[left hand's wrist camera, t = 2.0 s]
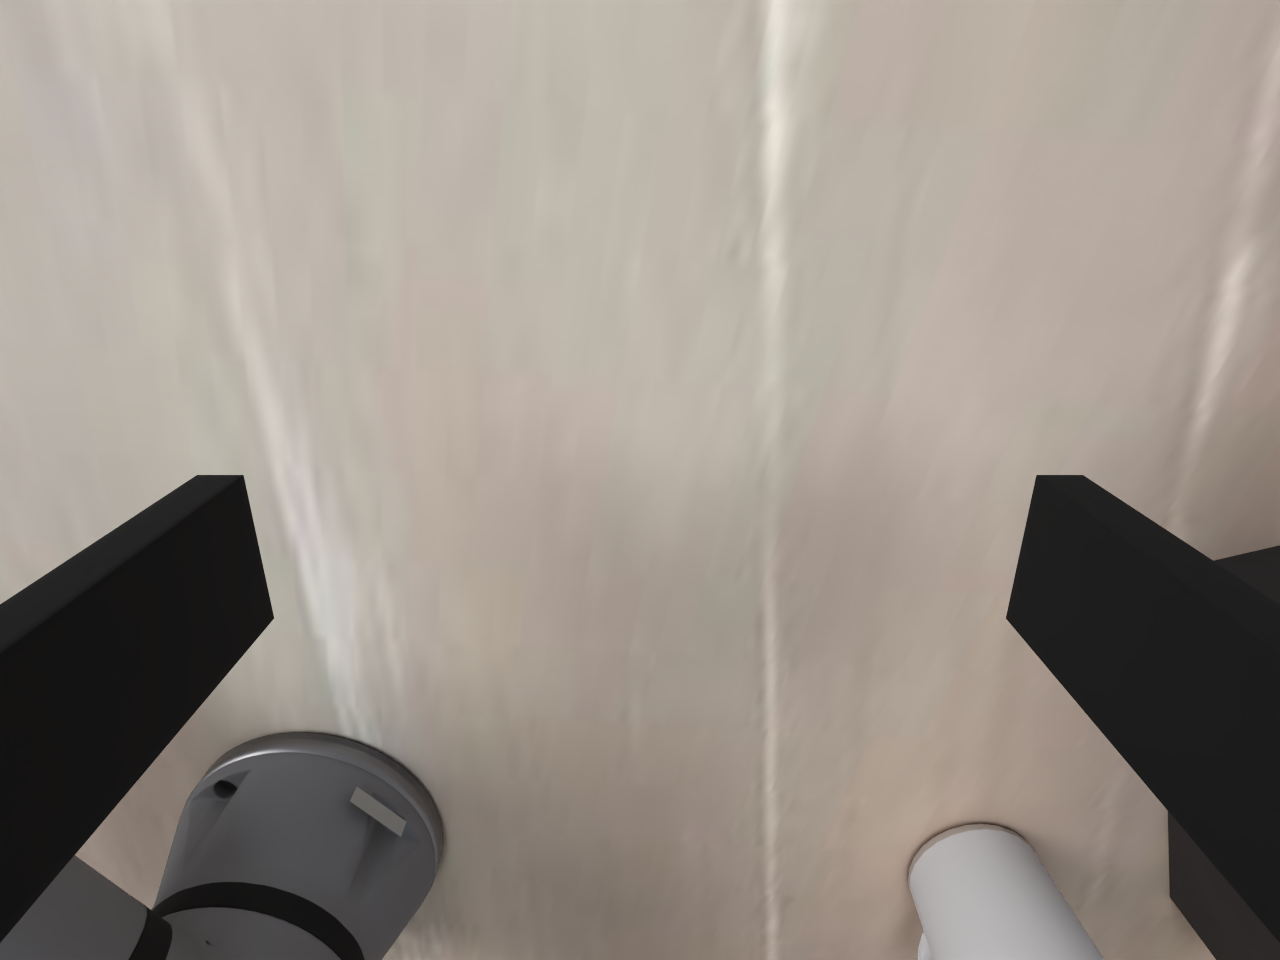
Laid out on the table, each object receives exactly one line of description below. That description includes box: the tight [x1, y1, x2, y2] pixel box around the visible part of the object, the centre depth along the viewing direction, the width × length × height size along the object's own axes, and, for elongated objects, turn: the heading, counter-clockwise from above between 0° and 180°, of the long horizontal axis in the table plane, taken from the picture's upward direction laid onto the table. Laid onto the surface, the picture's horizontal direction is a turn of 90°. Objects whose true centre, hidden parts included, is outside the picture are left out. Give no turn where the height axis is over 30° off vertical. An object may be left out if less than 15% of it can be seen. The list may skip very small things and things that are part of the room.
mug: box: [908, 824, 1104, 960], centre depth 43 cm, size 11×9×10 cm
